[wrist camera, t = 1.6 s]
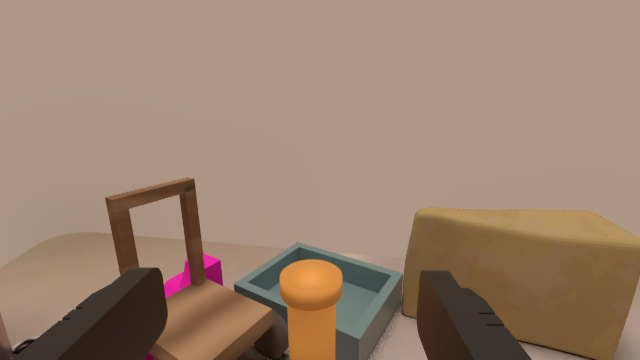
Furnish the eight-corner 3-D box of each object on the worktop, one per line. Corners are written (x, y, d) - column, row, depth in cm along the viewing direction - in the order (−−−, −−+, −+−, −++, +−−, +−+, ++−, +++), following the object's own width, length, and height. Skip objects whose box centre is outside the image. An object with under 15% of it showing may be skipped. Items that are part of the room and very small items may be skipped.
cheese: (403, 339, 37) (412, 223, 33) (399, 291, 46) (406, 195, 42) (618, 369, 33) (657, 240, 29) (566, 309, 42) (591, 205, 38)
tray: (236, 313, 41) (234, 283, 40) (298, 266, 53) (297, 242, 52) (358, 375, 32) (359, 339, 31) (401, 301, 44) (403, 273, 42)
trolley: (113, 386, 31) (71, 202, 26) (214, 314, 41) (198, 172, 36) (196, 466, 24) (161, 239, 19) (292, 356, 35) (286, 189, 29)
